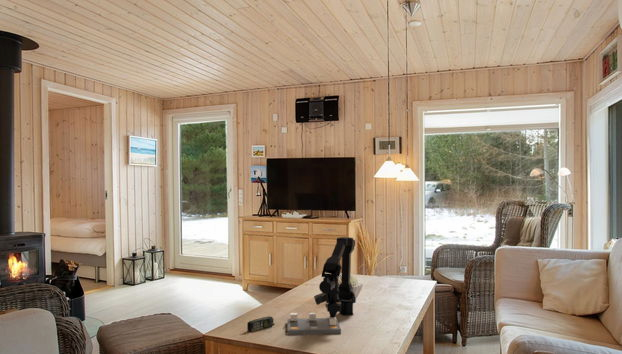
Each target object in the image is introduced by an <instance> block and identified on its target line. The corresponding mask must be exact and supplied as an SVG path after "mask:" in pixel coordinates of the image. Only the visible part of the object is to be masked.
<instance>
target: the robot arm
mask: <svg viewBox="0 0 622 354" xmlns="http://www.w3.org/2000/svg"><path fill="white" fill-rule="evenodd" d="M355 246H356V239H354V237H348V236H341V237H337V238H336V242H335V246H334V249H333V251H332V253H331V256H329V257H327V259H326V260H325V262H324V264H323V268H322V271H321V272H322V273H321V278H323V280H322V281H321V282H320V283H319V285H318V286H319V287H318V288H319V291H320V292H321V293H318V294H315V295H314V296H313V297H314V301H315V303H316V305H317V306H318V305H320V304H322V303H325V308H326V310H327V311H326V312H328V313H329V317H336V316H337V314H338V313H339V314H340V315H341V316H354V314H355V313H354V304H355V303H356V302H357V301H356V300H357V297H356V294H355V292H354V287H353V285H352V283H351V267H352V266H351V265H352V253H353V252H354V250H355ZM340 276H341V277H340ZM339 277H340V278H341V280H340V284H339Z"/></svg>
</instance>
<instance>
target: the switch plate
mask: <svg viewBox="0 0 622 354" xmlns="http://www.w3.org/2000/svg"><path fill="white" fill-rule="evenodd" d="M286 325H287V326H286V327H287V335H288V336H291V335H293V336H294V335H332V334H333V335H338V334H339V335H340V334H342V328H341V327H340V324H339V321H338V319H337V317H336V325H330V324H329V317H322V318H321V317H316V321H309V317H308V318H297V321H291V318H287V322H286Z"/></svg>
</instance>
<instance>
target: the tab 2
mask: <svg viewBox="0 0 622 354" xmlns="http://www.w3.org/2000/svg"><path fill="white" fill-rule="evenodd" d="M328 318H329V324H330V325H336V318H337V317H336V316H335V317H330V316H329V317H328Z"/></svg>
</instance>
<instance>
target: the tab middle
mask: <svg viewBox="0 0 622 354" xmlns="http://www.w3.org/2000/svg"><path fill="white" fill-rule="evenodd" d="M316 316H317V315H316V312H309V314H308V318H309V321H316V318H317V317H316Z"/></svg>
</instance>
